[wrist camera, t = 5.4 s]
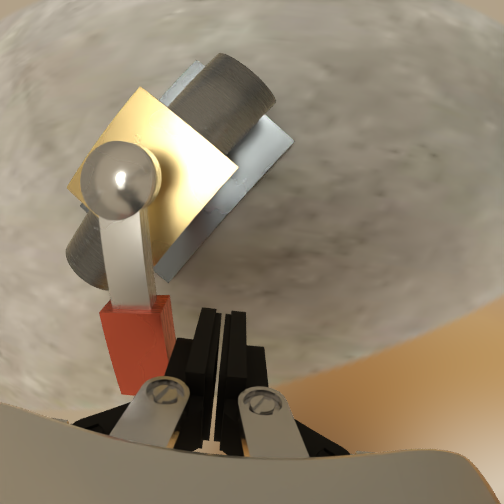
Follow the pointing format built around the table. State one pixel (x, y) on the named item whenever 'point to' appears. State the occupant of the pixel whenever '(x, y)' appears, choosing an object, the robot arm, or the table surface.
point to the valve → (188, 161)
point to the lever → (129, 261)
